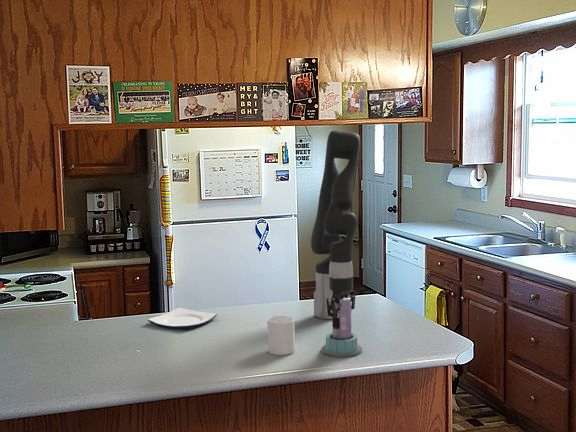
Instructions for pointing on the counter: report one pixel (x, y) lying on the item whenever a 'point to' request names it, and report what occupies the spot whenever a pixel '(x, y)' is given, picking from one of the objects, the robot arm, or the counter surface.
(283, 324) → the mug
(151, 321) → the plate
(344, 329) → the beverage can
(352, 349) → the holder
